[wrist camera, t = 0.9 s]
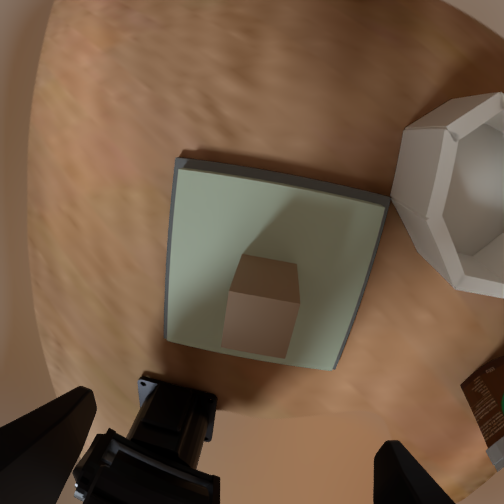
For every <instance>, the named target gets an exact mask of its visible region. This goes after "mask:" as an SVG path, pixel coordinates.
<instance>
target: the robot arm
mask: <svg viewBox="0 0 504 504" xmlns="http://www.w3.org/2000/svg"><path fill="white" fill-rule="evenodd" d="M138 391H139V400H140V410H139V412H138V414H137V416H136V418H135V420H134V423H133V425H132V427H131V429H130V431H129V433H128V435H127V437H126V438H125V437H123V436H121V435H119V434H117V433H116V431H114V430H112V429H111V428H109V429H108V431H107V433H106V434H97V435H96V437H95V439H94V440H93V442H92V444H91V446H90V447H89V449H88V450H87V452H86V453H85V455H84V456H83V457H82V459H81V460H80V461H79V463H78V464H77V465H76V467H75V469H74V470H73V476H74V478H75V481H76V484H75V487H76V491H75V494H74V497H75V498H77V499H79V500H81V501H83V504H220V477H218V476H215V475H209V474H206V473H204V472H201V471H198V470H196V468H197V465H198V461H199V457H200V453H201V450H202V446H203V442H204V441H206V442H210V441H211V439H212V433H213V426H214V420H215V412H216V405H217V397H216V395H214V394H211V393H206V392H202V391H198V390H193V389H189V388H185V387H181V386H177V385H173V384H169V383H166V382H162V381H158V380H155V379H151V378H148V377H144V376H142V377H140V378H139V380H138ZM210 399H211V400H210ZM96 411H97V406H96V402H95V398H94V394H93V391H92V390H91V389H89V388H86V387H83V386H79V387H76V388H75V389H73V390H71V391H69V392H67V393H65V394H64V395H62V396H60V397H58V398H56V399H54V400H52V401H50V402H49V403H47V404H45V405H43V406H41V407H39V408H37V409H35V410H33V411H31V412H30V413H28V414H26V415H24V416H22V417H20V418H18V419H16V420H14V421H12V422H10V423H8V424H6V425H4V426H2V427H0V504H56V502H57V500H58V498H59V496H60V494H61V491H62V489H63V488H64V485H65V483H66V481H67V479H68V477H69V475H70V473H71V471H72V469H73V467H74V465H75V463H76V461H77V459H78V457H79V455H80V453H81V451H82V449H83V446H84V444H85V441H86V438H87V436H88V433H89V430H90V427H91V425H92V422H93V420H94V417H95V414H96ZM373 492H374V493H373V502H374V504H455V503H454V502H453V500H452V499H451V498H450V497H449V496H448V495H447V494H446V493H445V492H444V490H443V489H442V488H441V487H440V486H439V485H438V484H437V483H436V482H435V480H434V479H433V478H432V477H431V476H430V475H429V474H428V473H427V472H426V470H425V469H424V468H423V467H422V466H421V465H420V464H419V463H418V461H417V460H416V459H415V458H414V457H413V456H412V455H411V454H410V452H409V451H408V450H407V449H406V448H405V447H404V446H403V445H402V443H401V442H400V441H398V440H388V441H386V442H385V443H384V444H383V445H382V447H381V448H380V449H379V451H378V452H377V453H376V455H375V458H374V490H373Z"/></svg>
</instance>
